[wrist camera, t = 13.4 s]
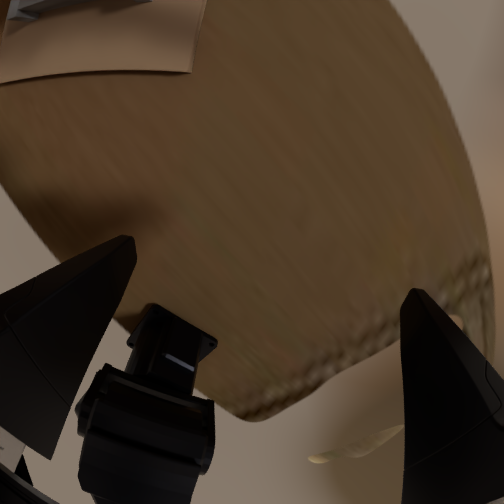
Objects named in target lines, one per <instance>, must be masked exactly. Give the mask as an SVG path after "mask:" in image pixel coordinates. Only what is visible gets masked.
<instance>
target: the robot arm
mask: <svg viewBox="0 0 504 504" xmlns="http://www.w3.org/2000/svg"><path fill="white" fill-rule="evenodd" d="M136 262H137V253H136V246H135V240H134V238H133V237H132V236H128V235H120V236H118V237H115V238H113V239H111V240H109V241H107V242H104V243H102V244H100V245H98V246H96V247H94V248H92V249H90V250H87V251H85V252H83V253H81V254H79V255H77V256H75V257H73V258H71V259H69V260H67V261H65V262H63V263H61V264H59V265H57V266H55V267H53V268H51V269H49V270H47V271H45V272H43V273H41V274H39V275H38V276H36V277H34V278H32V279H30V280H28V281H26V282H24V283H22V284H20V285H19V286H16V287H15V288H12V289H10V290H8V291H6V292H4V293H2V294H0V504H59V503H58V502H56V501H54V500H53V499H51V498H49V497H48V496H46V495H45V494H43V493H41V492H40V491H38V490H37V489H35V488H34V487H33V483H32V481H31V478H30V475H29V472H28V469H27V466H26V463H25V459H24V456H23V454H22V453H23V451H24V448H25V446H26V445H27V446H28V447H30V448H31V449H33V450H34V451H36V452H37V453H39V454H41V455H42V456H44V457H45V458H47V459H49V460H51V459H52V456H53V454H54V451H55V448H56V445H57V442H58V439H59V437H60V434H61V431H62V429H63V426H64V424H65V421H66V418H67V416H68V413H69V411H70V409H71V406H72V403H73V401H74V398H75V396H76V394H77V391H78V389H79V386H80V384H81V382H82V380H83V377H84V375H85V373H86V371H87V368H88V366H89V364H90V362H91V360H92V358H93V355H94V354H95V351H96V349H97V347H98V345H99V343H100V341H101V339H102V337H103V335H104V333H105V331H106V329H107V327H108V325H109V322H110V321H111V319H112V317H113V315H114V313H115V311H116V309H117V307H118V305H119V303H120V301H121V299H122V297H123V294H124V292H125V289H126V287H127V284H128V282H129V280H130V277H131V275H132V272H133V270H134V268H135V265H136ZM155 310H157V311H158V312H157V311H155ZM217 344H218V341H217V339H215V338H214V337H212V336H210V335H208V334H207V333H205V332H203V331H201V330H200V329H198V328H196V327H194V326H193V325H191V324H189V323H187V322H186V321H184V320H182V319H181V318H179V317H177V316H176V315H174V314H172V313H171V312H169V311H167V310H166V309H164V308H162V307H161V306H159V305H153V306H152V307H151V308H150V309H149V311H148V312H147V314H146V315H145V316H144V318H143V319H142V320H141V322H140V323H139V324H138V326H137V327H136V328H135V330H134V331H133V333H132V334H131V335H130V337H129V338H128V340H127V345H128V346H129V347H130V348H132V349H133V350H132V353H131V356H130V358H129V360H128V363H127V366H126V368H125V371H121V370H119V369H116V368H114V367H112V365H110V364H108V363H105V364H104V366H103V368H102V370H99V371H98V372H96V375H95V377H94V379H93V381H92V383H91V385H90V388H89V389H88V390H87V392H86V393H85V394H84V395H83V397H82V398H81V399H80V401H79V402H78V403H77V405H76V407H75V413H76V415H77V417H78V429H77V433H78V435H79V436H82V437H84V441H83V446H82V451H81V456H80V461H79V471H78V479H79V482H80V486H81V488H82V490H83V491H85V492H87V493H90V494H91V496H92V498H93V500H94V502H95V504H190V502H191V498H192V494H193V491H194V488H195V485H196V482H197V479H198V476H199V475H204V474H205V473H206V472H207V471H208V469H209V466H210V464H211V461H212V458H213V454H214V448H215V415H214V401H213V400H210V399H207V400H206V399H202V398H199V397H195V396H192V394H193V389H194V383H195V378H196V373H197V367H198V363H199V362H200V361H201V360H202V359H203V358H205V357H206V356H207V355H208V354H209V353H210V352H212V351H213V350H214V349H215V348H216V347H217ZM400 349H401V364H402V375H403V392H404V416H405V452H404V454H405V455H404V475H403V489H402V501H401V504H504V380H503V379H502V378H501V376H500V375H499V374H498V373H497V372H496V370H495V369H494V368H493V367H492V366H491V364H490V363H489V362H488V361H487V360H486V358H485V357H484V356H483V355H482V353H481V352H480V351H479V350H478V349H477V348H476V346H475V345H474V344H473V343H472V342H471V341H470V339H469V338H468V337H467V336H466V335H465V334H464V333H463V331H462V330H461V329H460V328H459V327H458V326H457V325H456V324H455V322H453V320H452V319H451V318H450V317H449V316H448V315H447V314H446V313H445V312H444V311H443V309H442V308H441V307H440V306H439V305H438V304H437V303H436V302H435V301H434V300H433V299H432V298H431V297H430V296H429V295H428V294H427V293H426V292H425V291H424V290H423V289H418V288H412V289H411V290H410V291H409V293H408V295H407V297H406V298H405V300H404V302H403V304H402V306H401V309H400Z"/></svg>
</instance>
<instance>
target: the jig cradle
mask: <svg viewBox="0 0 504 504" xmlns="http://www.w3.org/2000/svg"><path fill="white" fill-rule="evenodd" d="M206 2H207V0H11V2H10V6H9V9H8V13H7V17H6V22H5V26H4V31H3V36H2V41H1V47H0V83H6V82H11V81H16V80H21V79H27V78H33V77H40V76H47V75H55V74H64V73H75V72H89V71H111V70H148V71H171V72H186V73H192V67H193V62H194V57H195V52H196V47H197V42H198V37H199V32H200V28H201V23H202V19H203V14H204V10H205V6H206Z"/></svg>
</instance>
